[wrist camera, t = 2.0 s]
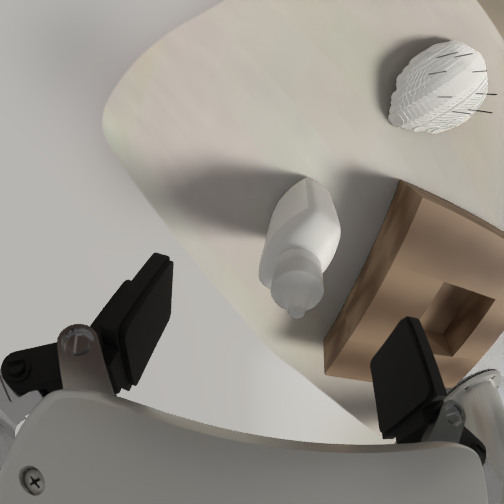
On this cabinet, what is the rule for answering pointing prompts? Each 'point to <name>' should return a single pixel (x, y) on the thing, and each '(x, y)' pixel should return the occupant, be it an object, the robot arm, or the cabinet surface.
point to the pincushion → (439, 88)
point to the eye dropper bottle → (300, 247)
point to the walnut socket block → (424, 288)
